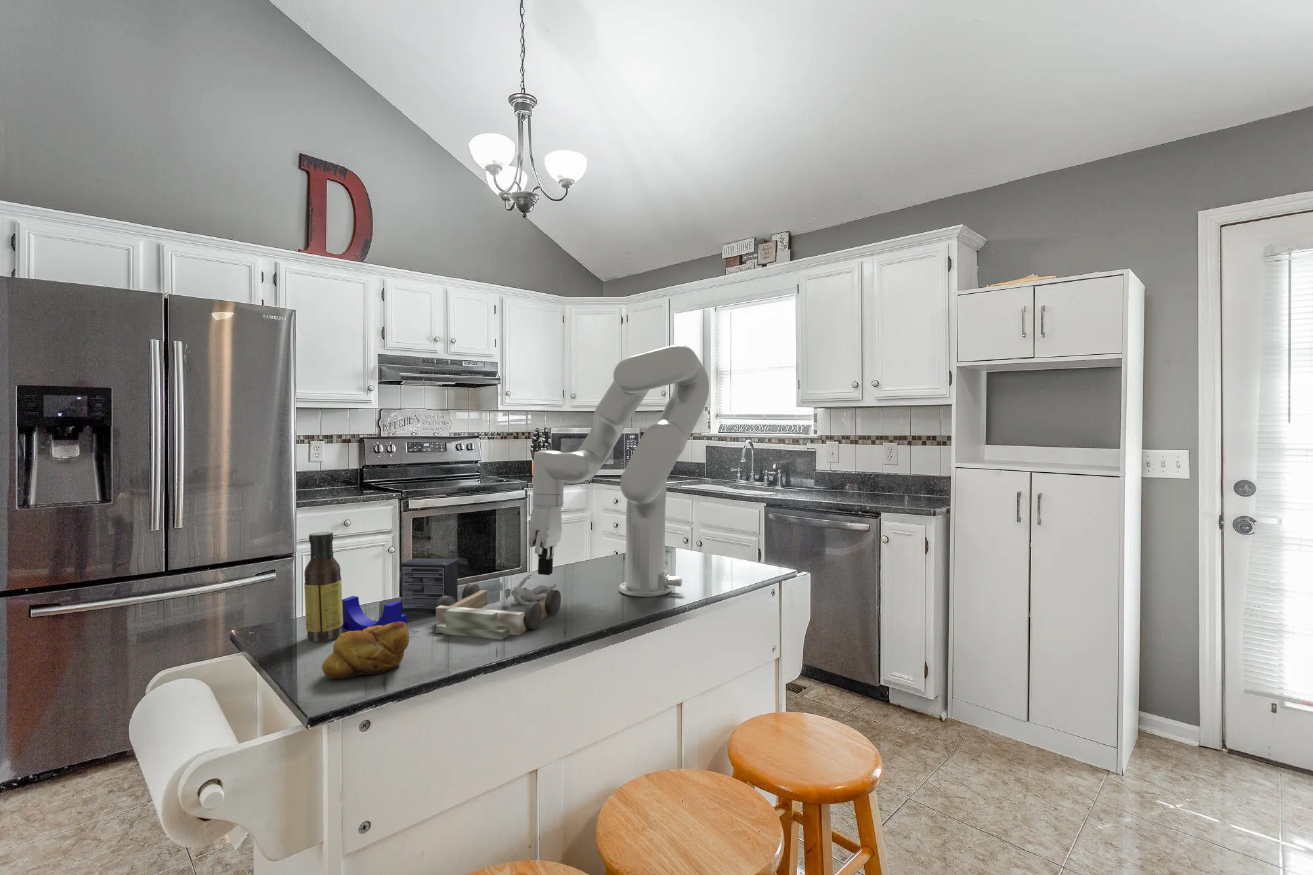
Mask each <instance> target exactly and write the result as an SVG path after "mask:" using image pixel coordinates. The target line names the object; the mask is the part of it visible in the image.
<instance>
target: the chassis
mask: <svg viewBox="0 0 1313 875" xmlns="http://www.w3.org/2000/svg"><path fill="white" fill-rule="evenodd" d="M462 590H463V591H462V594H461V599H460V600H459V601H458V602H456V603H455V600H454V598H453V597H452V596H441V597H440V598H439V600H438V602H437V604H436V608H435V612H434V613H435V628H436V631H435V633H436V634H438V633H443V634H442V635H450V636H459V635H460V636H461V637H470V638H472V637H473V638H480V637H481V638H482V639H483V638H484V639H493V640H504V639H505V638H507V637H508V636H510V635H512V636H521V635H522V634H524V632H526V631H527V630H536V629H538V628H539V626H540V624H541V621H542V620H543V619H544V618H545V617H547V616H548V615H557V614H558V612H559V611H560V609H561V604H562V595H561V592H560V590H558V589H553V590H551V589H548V590H549V591H548V592H547V594H546V595H547V596H546V598H544V599H541V600H538V601H537V603H529V604H528V605H526V607H525V610H524V611H523V612H521V611H511V610H510V611H509V610H499V609H487V608H482V607H484V606H486V605H488V590H486V589H485V590H484V589H480V587H479V585H478V584H476V583H467V584H466V585H465V586H464V588H463V589H462ZM485 604H486V605H485ZM481 606H482V607H481ZM477 608H479V609H477ZM481 638H480V639H481Z"/></svg>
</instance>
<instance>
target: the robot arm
mask: <svg viewBox="0 0 1313 875" xmlns="http://www.w3.org/2000/svg"><path fill="white" fill-rule="evenodd" d="M616 364H617V365H616V366H615V368H614V371H613V381H612V383H611V385H610V386H609V387H608V389H607V390H606V392H605V394H604V395H603V396H602V399H601V400H600V401H599V403H598V404H597V406H596V408H595V409H594V412H593V421H592V426H591V428H590V430H589V432H588V434H587V436H586V438H585V439H584V441H583V442H582V444H581V445H580V447H579V448H578V450H576V451H571V452H561V451H559V450H549V449H547V450H545V449H544V450H538V451H536V452H535V453H534V456H533V471H532V477H533V478H532V499H531V500H532V501H531V502H532V503H531V504H532V505H531V506H532V509H531V513H530V519H529V531H528V546H529V547H530V548H534V554H537V559H538V560H537V561H538V562H537V564H538V565H537V574H538V575H544V576H550V575H551V574H553V571H554V570H553V567H554V557H555V548H556V547H557V546H558V544H559V543H560V542H561V540H562V522H563V520H562V508H563V506H564V487H565V485H564V484H565V482H568V483H573V484H575V483H582V482H584V481H587V480H589V479H592V478H594V477H595V476H596V475H597V473H598V472H599V471H600V470H601V468H602V466H603V465H604V464H605V462H606V460H607V459H608V457H609V456H610V455H611V453H612V452H613V449H614V447H615V446H616V444H617V443H618V441H619V439H620V437H621V436H622V435H623V432H624V430H625V428H626V427H627V426H628V424H629V422H630V420H631V419H632V417H633V415H634V414H635V412H636V411H637V409H638V408H639V406H640V405H641V403H642V402H643V400H644V399H645V397H646V396H647V394H648V393H649V391H650V390H654V389H656V388H661V387H664V386H669V385H672V384H673V386H674V387H673V392H672V394H671V395H670V397H669V399H668V401H667V403H666V404H665V407H664V409H663V410H662V412H661V414H660V416H659V418H658V419H657V421H656V422H655V423H653V424H652V425H650V426H649V427H648V428H647V429H646V430H645V431H644V433H643V434H642V436H641V438H640V440H639V441H638V443H637V446H636V447H635V449H634V451H633V453H632V455H631V457H630V459H629V461H628V463H627V464H626V466H625V468H624V470H623V472H622V474H621V477H620V480H619V481H620V484H619V485H620V491H621V493H622V496H623V497H624V498H625V499H626V508H625V509H626V514H625V516H626V517H625V581H624V582H622V583H620V584H619V587H618V590H619V592H620V593H621V594H624V595H627V596H629V597H630V596H631V597H638V598H639V597H641V598H649V597H651V598H652V597H658V596H664V595H667V594H669V593H670V592H671V591H672V586H673V587H682V586H683V579H682V578H680V576H670V574H669V570H666V567H665V566H666V507H667V506H666V503H667V499H666V498H667V479H668V478H669V476H670V474H671V472H672V470H673V468H674V466H675V465H676V462H677V461H678V459H679V457H680V456H681V455H682V453H683V452H684V451H685V448H686V445H687V442H688V440H689V438H690V436H691V435H692V433H693V431H694V429H695V427H696V425H697V423H698V420H699V418H700V416H701V415H702V413H703V411H704V409H705V406H706V404H707V401H708V399H709V392H710V383H709V382H710V380H709V376H708V374H707V371H706V369H705V367H704V365H703V363H702V362H701V360H700V359H699V357H698V356H697V354H696V352H695V351H694V350H693V349H692V348H691V347H689V346H687V345H683V344H673V345H670V346H665V347H662V348H659V349H654V350H650V351H648V352H644V353H639V354H635V355H632V356H628V357H626V358H624V359H622V360H620V361H619V362H618V363H616Z"/></svg>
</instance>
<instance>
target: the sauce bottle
mask: <svg viewBox="0 0 1313 875" xmlns="http://www.w3.org/2000/svg"><path fill="white" fill-rule="evenodd" d="M333 540H334V533H333V531H318V532H312V533H310V534H308V542H309V544H310V545H309V546H310V547H309V548H310V554H309V555H310V559H309V562H308V564H306V567H305V570H304V587H303V588H304V606H305V610H304V611H305V630H306V637H307V640H308V641H309V642H311V643H325V642H329V641H333V640H336V639H337V638H338V637H339V636H340V635H341V634H342V633H344V630H343V628H342V625H343V609H342V599H343V592H342V591H343V589H342V588H343V587H342V575H341V566H340V564H339V562H338V561H337V560H336V558H335V557H334V551H333V548H334V547H333V545H334V544H333V543H334V542H333Z"/></svg>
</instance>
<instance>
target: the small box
mask: <svg viewBox="0 0 1313 875" xmlns="http://www.w3.org/2000/svg"><path fill="white" fill-rule="evenodd" d="M458 561H459V560H458V558H455V559H454V558H415V557H414V558H412V559H409V560H407V561H404V562H402V563H400V574H401V576H400V583H401V584H400V590H401V592H400V593H401V596H400V600H401V601H400V602H401V612H413V611H416V613H417V612H418V613H419V611H420V612H423V611H424V612H423V613H435V608H436V604H437V602H438V600H439V598H440V597H441V596H452V597H453V598H454V600H455V603H456V602H458V599H459V598H458V592H459V591H458V589H459V588H458V570H459V569H458ZM402 598H404V599H402Z"/></svg>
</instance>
